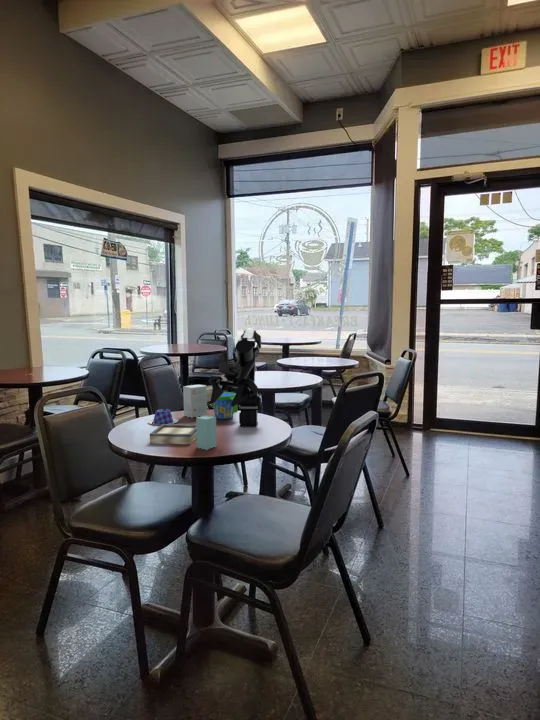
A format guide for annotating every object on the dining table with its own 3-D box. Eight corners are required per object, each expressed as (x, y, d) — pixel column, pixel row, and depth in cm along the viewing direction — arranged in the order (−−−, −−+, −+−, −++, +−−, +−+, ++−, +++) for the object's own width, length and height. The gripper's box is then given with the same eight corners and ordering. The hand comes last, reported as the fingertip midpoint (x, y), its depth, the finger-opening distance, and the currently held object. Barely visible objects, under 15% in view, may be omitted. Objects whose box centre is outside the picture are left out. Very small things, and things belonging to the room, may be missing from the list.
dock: (200, 433, 171) (200, 424, 171) (190, 444, 157) (190, 434, 157) (162, 433, 172) (162, 424, 172) (150, 443, 159) (149, 433, 158)
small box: (199, 413, 207) (198, 384, 206) (207, 415, 202) (207, 385, 201) (183, 416, 201) (182, 386, 200) (191, 418, 197) (191, 387, 196)
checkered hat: (162, 418, 198) (162, 406, 198) (184, 421, 192) (184, 409, 192) (141, 424, 188) (141, 411, 187) (164, 427, 182) (164, 414, 181)
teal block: (206, 444, 157) (206, 415, 156) (216, 446, 154) (216, 416, 154) (196, 447, 154) (196, 417, 153) (206, 450, 151) (206, 419, 150)
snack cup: (245, 419, 195) (245, 395, 194) (223, 423, 188) (223, 397, 188) (225, 413, 207) (225, 390, 206) (204, 416, 201) (203, 392, 200)
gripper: (211, 352, 167) (189, 387, 159) (252, 355, 156) (230, 392, 148) (226, 372, 174) (205, 406, 166) (266, 376, 163) (246, 413, 155)
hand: (221, 404), depth 159 cm, fingers open, 9 cm apart
